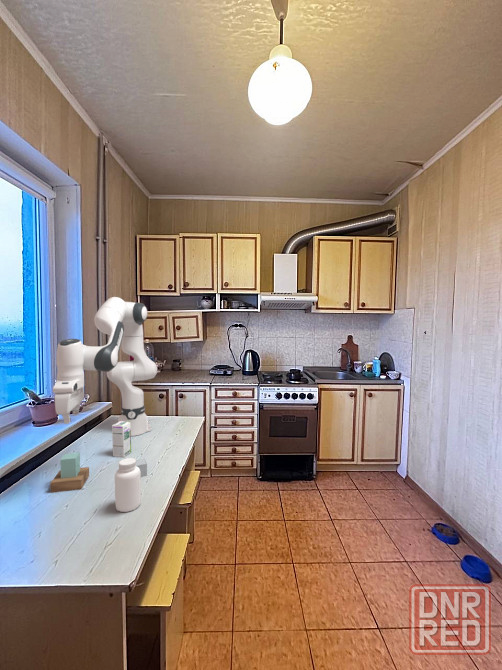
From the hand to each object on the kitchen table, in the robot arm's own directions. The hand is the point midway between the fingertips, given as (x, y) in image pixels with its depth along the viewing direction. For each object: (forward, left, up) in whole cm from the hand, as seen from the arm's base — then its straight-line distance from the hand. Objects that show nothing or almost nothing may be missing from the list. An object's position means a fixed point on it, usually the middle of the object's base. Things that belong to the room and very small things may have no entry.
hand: (71, 418), depth 117 cm
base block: (+2, 0, -25) cm, 25 cm away
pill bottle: (+21, +23, -24) cm, 40 cm away
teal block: (+2, 0, -20) cm, 21 cm away
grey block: (0, +24, -24) cm, 34 cm away
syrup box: (-21, +14, -24) cm, 35 cm away
